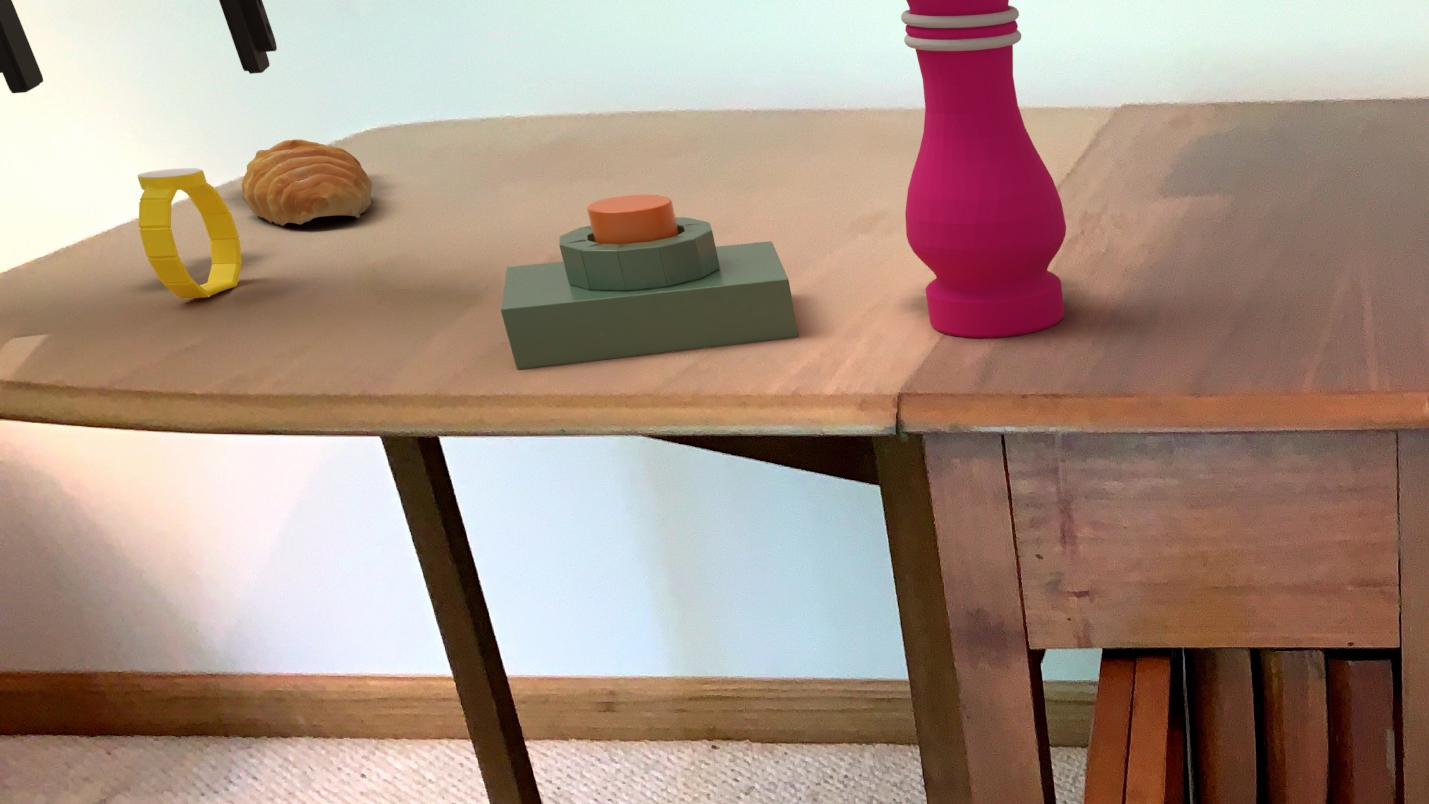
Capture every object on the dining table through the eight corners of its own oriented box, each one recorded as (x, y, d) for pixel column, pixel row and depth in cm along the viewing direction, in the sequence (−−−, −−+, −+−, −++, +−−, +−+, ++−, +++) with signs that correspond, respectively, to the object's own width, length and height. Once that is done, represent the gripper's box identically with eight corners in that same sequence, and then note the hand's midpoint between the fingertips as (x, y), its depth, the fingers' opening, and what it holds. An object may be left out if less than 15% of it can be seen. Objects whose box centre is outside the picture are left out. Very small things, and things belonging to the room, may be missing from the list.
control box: (516, 370, 75) (488, 266, 72) (521, 324, 81) (495, 227, 79) (799, 337, 78) (780, 238, 76) (782, 295, 85) (765, 203, 83)
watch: (208, 308, 84) (163, 184, 81) (150, 310, 84) (103, 185, 81) (267, 277, 89) (227, 159, 86) (213, 279, 89) (171, 161, 86)
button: (596, 255, 76) (586, 214, 75) (595, 237, 79) (586, 198, 78) (681, 246, 77) (673, 207, 76) (677, 230, 80) (669, 191, 79)
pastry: (395, 220, 101) (375, 152, 99) (267, 238, 97) (243, 169, 95) (364, 194, 107) (344, 131, 105) (243, 211, 104) (220, 145, 102)
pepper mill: (913, 308, 83) (843, -162, 72) (1061, 294, 84) (1014, -166, 74) (927, 349, 77) (854, -157, 66) (1087, 332, 78) (1039, -161, 68)
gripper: (-298, -348, 67) (-93, 109, 76) (198, -355, 73) (336, 73, 81) (-226, -337, 73) (-44, 85, 82) (227, -345, 79) (353, 53, 87)
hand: (145, 78), depth 82 cm, fingers open, 9 cm apart
